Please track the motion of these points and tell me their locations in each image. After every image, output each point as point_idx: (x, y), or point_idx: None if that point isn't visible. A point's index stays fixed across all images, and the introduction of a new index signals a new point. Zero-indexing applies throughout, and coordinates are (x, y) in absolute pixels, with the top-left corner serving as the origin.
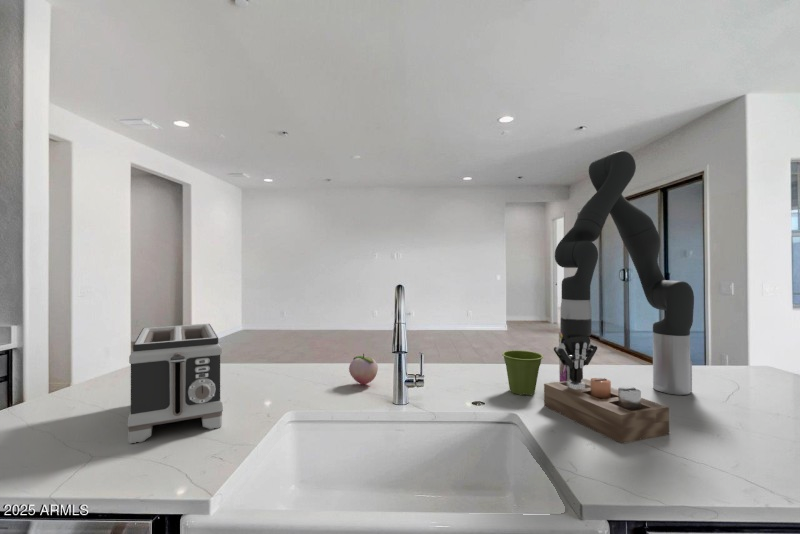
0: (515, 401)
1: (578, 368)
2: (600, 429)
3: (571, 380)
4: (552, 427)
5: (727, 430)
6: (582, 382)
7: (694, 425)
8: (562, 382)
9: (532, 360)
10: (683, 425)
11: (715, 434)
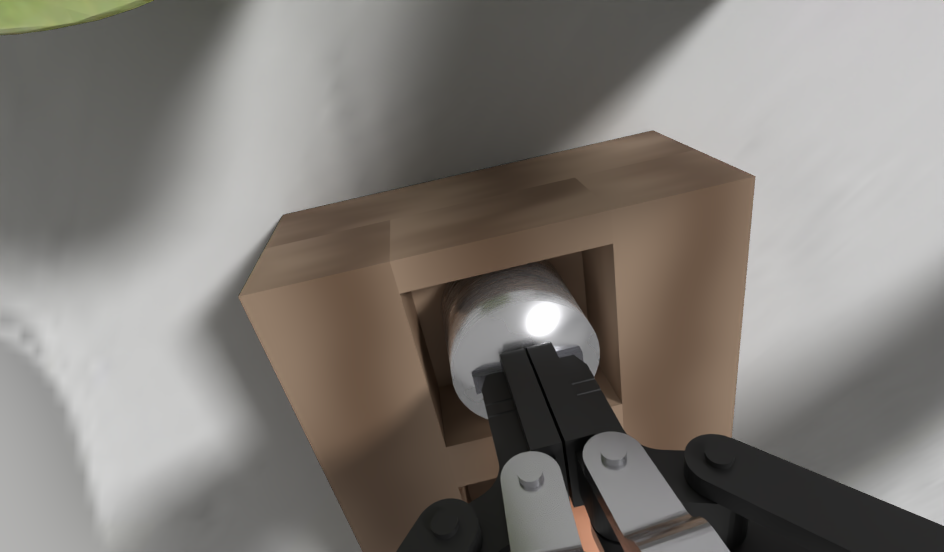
0: (53, 82)
1: (579, 496)
2: None
3: (500, 361)
4: (217, 486)
5: None
6: (589, 359)
7: (825, 467)
8: (447, 277)
9: (4, 20)
10: None
11: None
